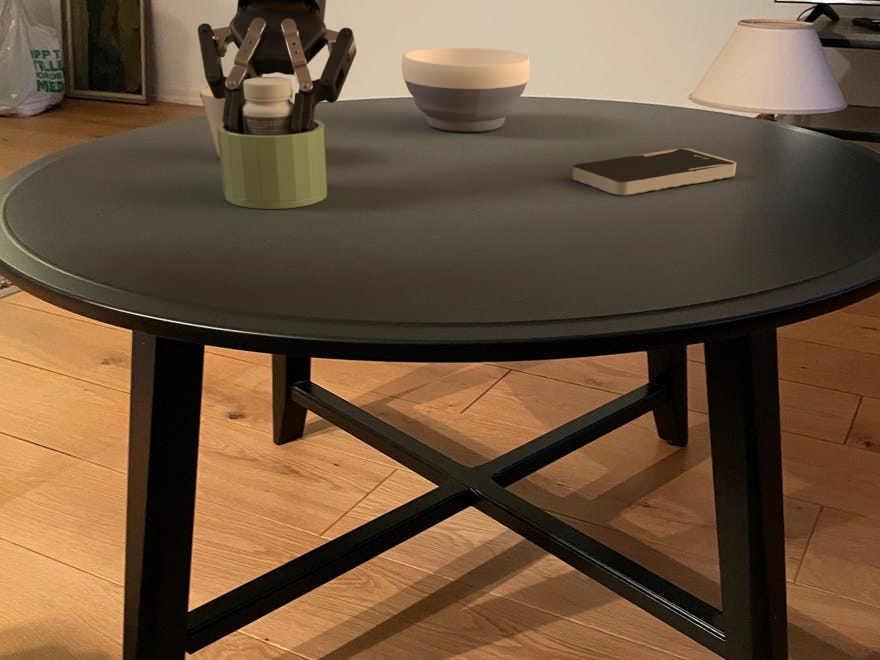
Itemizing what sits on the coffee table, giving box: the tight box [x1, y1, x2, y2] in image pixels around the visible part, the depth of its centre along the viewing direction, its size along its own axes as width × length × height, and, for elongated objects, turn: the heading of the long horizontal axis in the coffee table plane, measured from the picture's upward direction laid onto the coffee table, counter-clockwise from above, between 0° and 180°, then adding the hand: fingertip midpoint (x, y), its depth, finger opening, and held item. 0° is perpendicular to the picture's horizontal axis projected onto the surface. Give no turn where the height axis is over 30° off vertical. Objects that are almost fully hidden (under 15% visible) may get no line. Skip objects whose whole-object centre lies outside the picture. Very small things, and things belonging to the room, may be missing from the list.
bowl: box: [401, 46, 531, 134], centre depth 117 cm, size 14×14×8 cm
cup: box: [217, 119, 329, 210], centre depth 90 cm, size 9×9×6 cm
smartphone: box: [572, 148, 737, 196], centre depth 99 cm, size 8×1×15 cm
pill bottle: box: [241, 76, 294, 136], centre depth 88 cm, size 5×5×8 cm
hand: (266, 136), depth 87 cm, fingers closed on pill bottle, 4 cm apart
